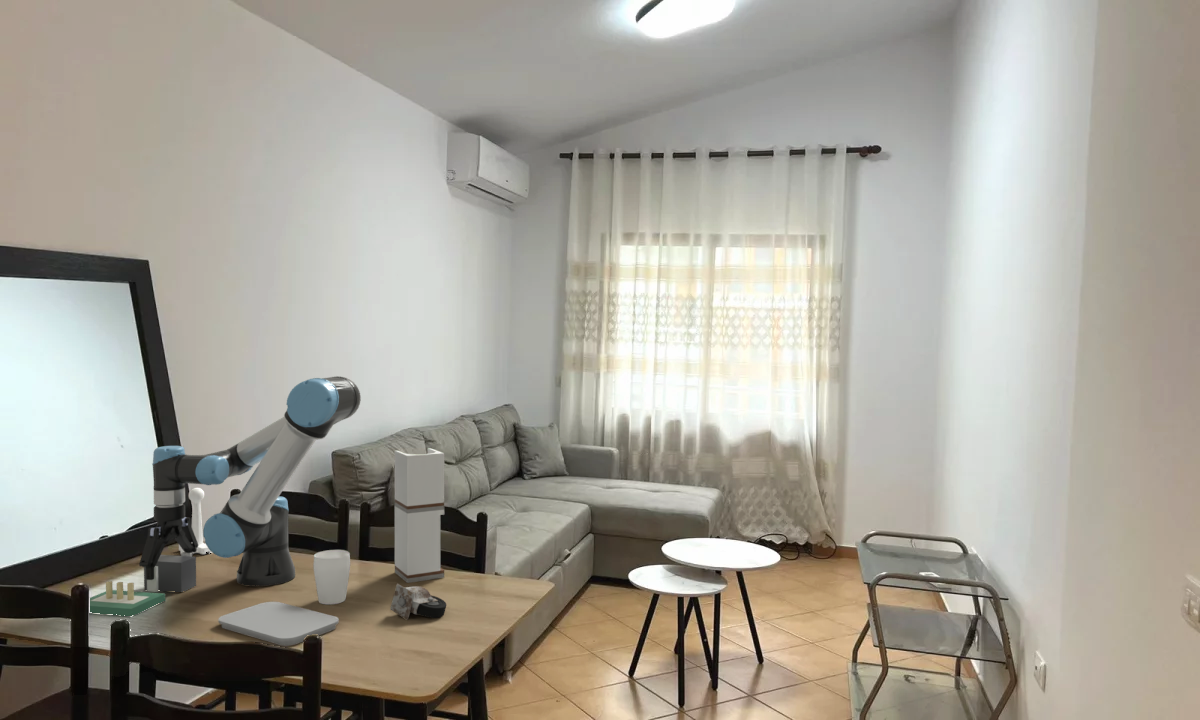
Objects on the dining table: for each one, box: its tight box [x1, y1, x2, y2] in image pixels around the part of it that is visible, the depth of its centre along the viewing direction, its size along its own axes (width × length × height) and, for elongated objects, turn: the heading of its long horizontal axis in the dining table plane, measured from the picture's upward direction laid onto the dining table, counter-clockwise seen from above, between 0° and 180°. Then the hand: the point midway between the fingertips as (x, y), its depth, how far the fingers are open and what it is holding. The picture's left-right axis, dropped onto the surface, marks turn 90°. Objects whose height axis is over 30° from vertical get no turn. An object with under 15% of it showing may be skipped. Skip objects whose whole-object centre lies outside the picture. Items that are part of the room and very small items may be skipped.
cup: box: [312, 549, 351, 605], centre depth 219 cm, size 9×9×12 cm
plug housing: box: [143, 554, 197, 593], centre depth 229 cm, size 11×6×8 cm, turn 80°
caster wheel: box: [389, 583, 447, 621], centre depth 209 cm, size 7×11×10 cm
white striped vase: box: [394, 447, 445, 584], centre depth 242 cm, size 11×11×35 cm
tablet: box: [217, 601, 340, 647], centre depth 200 cm, size 16×26×2 cm, turn 59°
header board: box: [89, 580, 166, 617], centre depth 213 cm, size 16×12×6 cm
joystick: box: [178, 487, 213, 555], centre depth 264 cm, size 11×8×20 cm
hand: (170, 583), depth 229 cm, fingers open, 13 cm apart
